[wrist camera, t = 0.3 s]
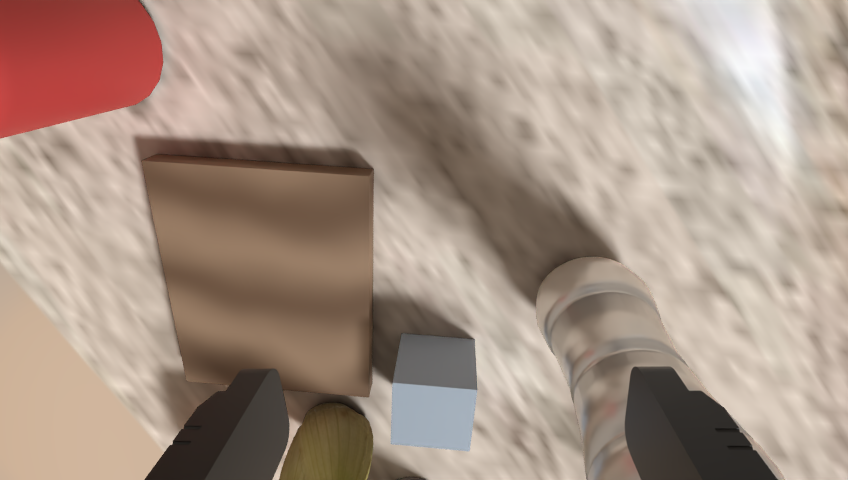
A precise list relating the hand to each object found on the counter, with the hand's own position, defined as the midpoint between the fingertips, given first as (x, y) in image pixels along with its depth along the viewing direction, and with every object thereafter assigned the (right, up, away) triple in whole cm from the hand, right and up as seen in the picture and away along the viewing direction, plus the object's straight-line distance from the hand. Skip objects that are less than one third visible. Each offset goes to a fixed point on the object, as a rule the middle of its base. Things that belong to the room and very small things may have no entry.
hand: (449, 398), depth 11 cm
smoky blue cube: (0, -5, +23) cm, 23 cm away
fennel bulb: (-7, -10, +25) cm, 28 cm away
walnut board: (-10, +1, +20) cm, 23 cm away
